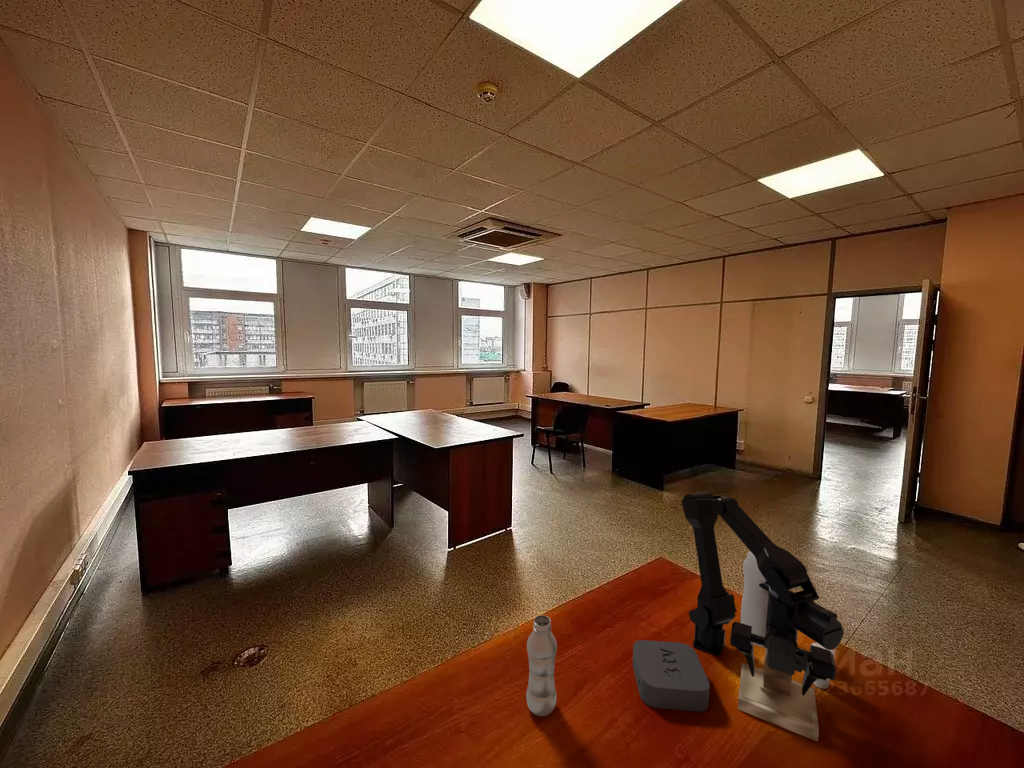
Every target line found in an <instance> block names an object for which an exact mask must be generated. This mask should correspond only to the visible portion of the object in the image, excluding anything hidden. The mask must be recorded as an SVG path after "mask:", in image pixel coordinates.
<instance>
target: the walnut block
mask: <svg viewBox="0 0 1024 768" xmlns="http://www.w3.org/2000/svg"><path fill="white" fill-rule="evenodd" d="M763 661H764V664H763V670H764V677H763V687H765V688H768V689H770V690H773V691H776V692H779V693H781V694H784V695H787V696H790V694H791V682H792V680H793V675H788V674H786V673H784V672H781V671H778V670H774V669H771V668H769V667H768V665H767V649H766V648H764V659H763Z"/></svg>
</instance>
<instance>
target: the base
mask: <svg viewBox="0 0 1024 768" xmlns="http://www.w3.org/2000/svg"><path fill="white" fill-rule="evenodd" d="M763 677H764V669H761V668H759V667H756V666H755V668H754V677H752V675H751V672H750V669H749V666H748V663H744V662H741V668H740V679H739V688H738V701H737V710H739V711H740V712H743V713H746V714H749V715H751V716H753V717H756V718H758V719H761V720H764V721H766V722H768V723H770V724H773V725H776V726H778V727H781V728H783V729H784V730H785V729H786V730H788V731H790V732H793V733H795V734H798V735H800V736H802V737H806V738H807V739H811V740H813V741H815V742H819V733H820V728H819V720H818V711H817V702H816V695H815V687H812V686H810V688H809V689H808V691H807V692H806V694H805V695H802V683H801V682H799V681H796V680H793V679H792V682H791V694H790V696H787V695H784V694H781V693H779V692H776V691H773V690H770V689H768V688H765V687H763Z"/></svg>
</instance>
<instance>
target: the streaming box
mask: <svg viewBox="0 0 1024 768" xmlns="http://www.w3.org/2000/svg"><path fill="white" fill-rule="evenodd" d="M632 646H633V647H632V648H633V650H632V651H633V652H632V669H633V673H634V677H635V681H636V683H637V684H636V685H637V690H638V692H639V693H638V694H639V697H640V699H641V700H642V702H643V703H644V704H646V705H647V706H649V707H652V708H654V709H663V710H665V709H666V710H677V711H685V712H686V711H687V712H688V711H689V712H700V713H701V712H704V711H707V710H708V708H709V703H710V702H709V700H710V681H709V678H708V676H707V675H706V672H705V670H704V668H703V665H702V664H701V660H700V659H699V656H698V655H697V652H696V651H695V649H694V647H693V646H692V647H691V646H690V645H689V644H685V643H682V642H677V641H676V642H675V641H674V642H672V641H661V640H660V641H659V640H647V639H646V640H645V639H640V640H636V641H635V642H633V645H632Z"/></svg>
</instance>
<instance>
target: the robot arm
mask: <svg viewBox="0 0 1024 768" xmlns="http://www.w3.org/2000/svg"><path fill="white" fill-rule="evenodd" d="M681 505H682V508H683V513H684V518H685V519H686V520H687V522H688V523H689V524H690V526H691V527H692V530H693V535H694V541H695V548H696V549H695V550H696V554H697V555H696V556H697V562H698V568H699V576H700V582H701V586H700V588H699V589H700V590H699V592H698V595H697V597H696V599H697V603H696V604H697V607H696V608H692V609H691V610H689V611H688V616H689V620H690V621H691V622H692V623H693V624H694V639H693V643H692V648H695V649H699V650H701V651H704V652H707V653H710V654H711V655H712V654H713V655H716V656H719V657H720V656H722V651H723V650H725V641H726V629H725V628H724V625H729V624H730V623H731V621H733V620H734V619H735V618H736V612H738V610H737V607H736V605H735V597H734V595H733V594H732V593H729V592H728V591H727V588H725V586H724V584H723V578H722V577H723V576H722V571H721V565H720V558H719V552H718V547H717V546H718V545H717V540H716V533H715V525H716V523H717V520H718V517H719V516H720V518H721V519H722V520H723V521H724V522H725V523H726V524H727V526H728V527H729V528H730V529H731V531H732V532H733V533H734V534H735V535H736V536H737V538H739V539H740V541H741V542H742V543H743V544H744V546H745V547H746V548H747V549H748V551H750V552H752V554H753V555H754V556H755V558H756V560H757V565H758V569H759V570H760V572H761V573H762V575H763V576H764V578H765V579H766V581H765V582H763V583H760V584H759V586H760V587H761V588H763V589H764V590H766V591H767V592H768V603H767V617H766V631H765V637H762V636H759V635H756V634H753V633H751V632H752V626H749V625H746V624H743V623H740V621H734V622H732V624H731V631H730V639H729V644H730V645H731V646H732V647H733V648H736V650H737V651H739V652H740V653H742V654H743V655H744V657H745V659H746V663H747V665H748V666H749V669H750V672H751V675H752V677H754V668H755V667H756V666H755V653H754V645H755V646H756V647H757V646H758V647H761V648H763V649H765V648H766V649H767V665H768V667H769V668H771V669H774V670H778V671H781V672H784V673H786V674H788V675H792V676H793V675H795V674H796V672H798V673H801V674H803V678H802V683H801V684H802V695H805V694H806V692H807V691H808V689H809V688H810V687H812V685H814V684H813V683H814V682H815V681H816V680H817V679H822V680H826V679H827V678H828V679H830V681H833V680H836V675H837V666H836V661H835V657H834V655H833V654H832V652H831V651H829V650H832V651H833V650H834V649H835V648H836V647H837V646H838V645H840V644H841V642H842V639H843V637H844V631H845V630H844V629H843V625H842V623H841V621H839V620H838V614H837V613H835V612H833V610H832V611H831V610H829V609H827V608H825V607H823V606H821V605H819V604H818V603H816V602H815V601H817V600H819V599H820V596H819V594H818V592H817V590H816V588H815V586H814V584H813V582H812V581H811V577H810V576H809V574H808V569H807V568H806V566H805V565H804V564H803V562H802V561H800V560H799V559H798V558H797V557H795V556H794V555H793V553H791V552H789V551H788V550H786V549H784V548H783V547H780V546H779V545H777V544H776V543H775V542H773V541H772V540H771V539H770V538H769V537H768V536H767V535H766V533H765V532H764V531H763V530H762V529H761V528H760V527H759V526H758V525H757V523H755V521H753V519H752V518H751V517H750V516H749V515H748V514H747V513H746V512H745V511H744V509H743V508H741V506H740V505H739V502H738V501H737V500H736V498H734V497H731V496H724V495H718V494H717V495H715V494H713V493H711V492H709V491H700V492H695V493H687V494H685V495H684V496H683V498H682V499H681ZM797 588H801V589H802V590H799V591H795V592H794V591H792V590H794V589H797ZM798 633H802V634H803V635H804V636H807V638H809V639H811V640H812V641H813V642H814V643H818V644H820V645H821V646H823V647H824V648H826V649H828V650H826V649H823V648H820V647H816V646H813V645H811V644H810V646H809V650H806V649H803V648H801V647H799V645H798ZM838 647H839V646H838ZM838 647H837V648H838ZM803 672H804V673H803Z"/></svg>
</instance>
